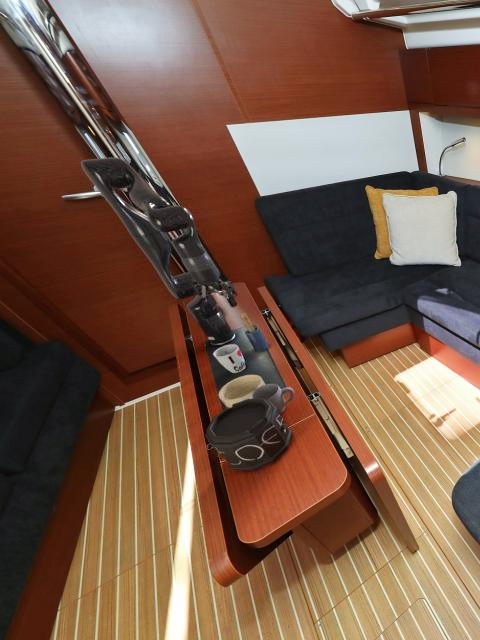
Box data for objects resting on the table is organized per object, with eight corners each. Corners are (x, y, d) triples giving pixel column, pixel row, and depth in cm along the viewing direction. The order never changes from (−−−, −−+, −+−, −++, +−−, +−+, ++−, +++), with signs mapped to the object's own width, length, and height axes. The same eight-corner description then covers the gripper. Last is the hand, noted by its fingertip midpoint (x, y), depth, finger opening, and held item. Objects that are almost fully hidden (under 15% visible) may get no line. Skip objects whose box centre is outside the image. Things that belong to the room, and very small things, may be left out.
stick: (258, 347, 147) (238, 313, 136) (263, 345, 148) (244, 311, 138) (259, 349, 146) (239, 315, 135) (265, 347, 147) (245, 313, 136)
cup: (238, 376, 132) (225, 358, 126) (221, 373, 134) (207, 355, 128) (254, 364, 139) (242, 345, 133) (238, 361, 140) (226, 343, 134)
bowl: (225, 400, 122) (215, 387, 118) (265, 382, 130) (256, 369, 125) (233, 419, 115) (222, 406, 111) (274, 400, 122) (266, 387, 118)
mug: (263, 424, 113) (250, 405, 107) (261, 408, 119) (248, 390, 113) (301, 409, 119) (290, 390, 113) (297, 394, 125) (287, 376, 119)
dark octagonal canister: (289, 465, 101) (266, 434, 91) (221, 481, 96) (190, 450, 87) (301, 421, 114) (282, 390, 105) (243, 433, 110) (218, 401, 101)
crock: (253, 348, 148) (243, 330, 142) (267, 343, 151) (257, 325, 145) (256, 353, 145) (246, 335, 139) (270, 348, 148) (260, 330, 142)
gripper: (227, 263, 117) (248, 302, 127) (191, 260, 118) (215, 299, 128) (209, 272, 111) (233, 312, 121) (172, 269, 112) (198, 309, 122)
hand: (224, 305), depth 124 cm, fingers open, 8 cm apart
